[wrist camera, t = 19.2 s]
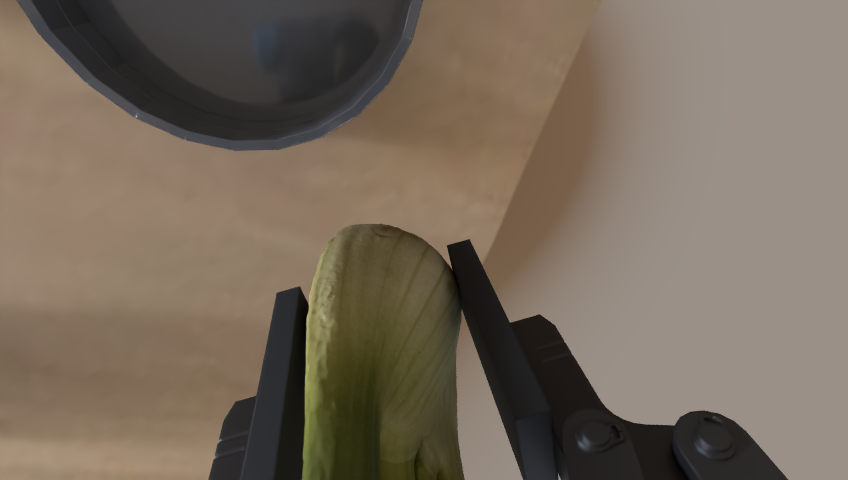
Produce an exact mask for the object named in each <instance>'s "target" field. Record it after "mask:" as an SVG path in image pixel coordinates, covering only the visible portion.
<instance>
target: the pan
mask: <svg viewBox="0 0 848 480" xmlns="http://www.w3.org/2000/svg"><path fill="white" fill-rule="evenodd" d="M17 2H18V3H19V5H20V6H21V8H22V9H23V11H24V12H25V14H26V15H27V17H28V18H29V20H30V21H31V23H32V24H33V26H34V27H35V29H36V30H37V32H38V33H39V35H41V37H42V38H43V39H44V40H45V41H46V42H47V43H48V44H49V45H50V46H51V47H52V48H53V49H54V50H55V51H56V53H57V54H58V55H59V56H60V57H61V58H62V59H63V60H64V61H65V62H66V63H67V64H68V65H69V66H70V67H71V68H72V69H73V70H74V71H75V72H76V73H77V74H78V75H79V76H80V77H81V78H82V79H83V80H84V81H85V82H86V83H87V84H88V85H89V86H91V87H92V88H94V89H95V90H96V91H98V92H99V93H101V94H102V95H104V96H105V97H106V98H108V99H109V100H111V101H112V102H113V103H115V104H116V105H118V106H119V107H121V108H122V109H123V110H125V111H126V112H128V113H129V114H130V115H132V116H133V117H136V118H137V119H139V120H141V121H143V122H145V123H148V124H150V125H152V126H154V127H157V128H159V129H161V130H163V131H166V132H168V133H170V134H172V135H175V136H177V137H179V138H181V139H184V140H185V139H186V140H187V141H191V142H196V143H201V144H205V145H210V146H215V147H220V148H224V149H229V150H234V151H241V150H279V149H283V148H287V147H291V146H294V145H298V144H301V143H305V142H308V141H312V140H315V139H319V138H321V137H324V136H325V135H327V134H329V133H330V132H332V131H333V130H335V129H337V128H338V127H340V126H342V125H343V124H345V123H347V122H348V121H350V120H352V119H353V118H355V117H357V116H358V115H360V114H361V112H362V111H363V110H364V109H365V108H366V107H367V106H368V105H369V104H370V103H371V102H372V101H373V100H374V99H375V98H376V97H377V96H378V95H379V93H380V92H381V91H382V90H383V89H384V88H385V87H386V86H387V85H388V84H389V82H390V81H391V79H392V77H393V75H394V74H395V72H396V70H397V68H398V66H399V64H400V63H401V61H402V59H403V57H404V55H405V53H406V52H407V50H408V48H409V46H410V44H411V42H412V40H413V37H414V33H415V29H416V25H417V21H418V18H419V14H420V10H421V6H422V2H423V0H17Z"/></svg>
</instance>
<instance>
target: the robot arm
mask: <svg viewBox="0 0 848 480" xmlns="http://www.w3.org/2000/svg"><path fill="white" fill-rule="evenodd" d="M447 248H448V252H449V257H450V261H451V265H452V269H453V272H454V275H455V277H456V280H457V284H458V288H459V293H460V298H461V308H462V311H463V313H464V316H465V319H466V322H467V325H468V327H469V330H470V333H471V336H472V338H473V341H474V344H475V347H476V349H477V352H478V355H479V358H480V360H481V363H482V366H483V369H484V372H485V374H486V377H487V380H488V383H489V386H490V388H491V391H492V394H493V397H494V400H495V402H496V405H497V408H498V411H499V414H500V416H501V419H502V422H503V425H504V427H505V430H506V433H507V436H508V438H509V441H510V444H511V447H512V450H513V452H514V455H515V458H516V461H517V463H518V466H519V469H520V472H521V475H522V477H523V480H558V474H559V476H560V478H561V480H788V479H787V478H786V477H785V475H784V474H783V473H782V472H781V471H780V470H779V469H778V467H777V466H776V465H775V464H774V463H773V462H772V461H771V460H770V458H769V457H768V456H767V455H766V454H765V452H763V450H762V449H761V448H760V447H759V446H758V445H757V443H756V442H755V441H754V440H753V439H752V438H751V436H750V435H749V434H748V433H747V432H746V431H745V430H744V429H743V428H741V427H740V426H739V425H738V424H737V423H736V422H734V421H733V420H731V419H729V418H726V417H725V416H723V415H721V414H718V413H713V412H708V411H694V412H689V413H687V414H685V415H683V416H681V417H680V418H679V420H678V421H677V423H676V424H675V426H670V425H645V424H637V423H632V422H629V421H626V420H623V419H622V418H620V417H618V416H616V415H614V414H613V413H612V412H610V411H609V410H608V409H607V408H606V407H605V406H604V404H603V403H602V402H601V401H600V399H599V398H598V396H597V394H596V392H595V391H594V389H593V387H592V386H591V384H590V382H589V381H588V379H587V378H586V376H585V374H584V373H583V371H582V369H581V368H580V366H579V365H578V363H577V361H576V360H575V358H574V356H572V354H571V351H570V350H569V348H568V346H567V345H566V343H565V342H564V340H563V338H562V337H561V335H560V333H559V332H558V330H557V328H556V326H555V325H554V324H552V323H551V322H550V321H548V320H547V319H545V318H544V317H543V316H541V315H536V316H533V317H529V318H526V319H522V320H519V321H515V322H511V323H510V322H509V320H508V318H507V316H506V314H505V312H504V310H503V308H502V306H501V304H500V302H499V300H498V297H497V295H496V293H495V291H494V289H493V287H492V285H491V283H490V281H489V279H488V277H487V275H486V272H485V270H484V268H483V266H482V264H481V262H480V260H479V258H478V256H477V254H476V252H475V250H474V248H473V245H472V243H471V241H470V239H468V240H465V241H461V242H457V243H454V244H450V245H447ZM308 311H309V305H308V302H307V300H306V298H305V296H304V294H303V292H302V290H301V288H300V287H296V288H292V289H289V290H285V291H282V292H278V293H277V295H276V300H275V305H274V310H273V315H272V320H271V325H270V330H269V335H268V340H267V345H266V350H265V355H264V360H263V365H262V370H261V376H260V381H259V386H258V391H257V396H254V397H251V398H247V399H244V400H240V401H237V402H235V404H234V405H233V407H232V408H231V410H230V412H229V413H228V415H227V416H226V418H225V419H224V422H223V426H222V430H221V433H220V437H219V441H220V442H219V443H218V445H217V449H216V453H215V459H214V460H213V464H212V468H211V472H210V476H209V480H302V473H303V464H304V461H303V447H304V427H305V375H306V330H307V326H306V323H307V315H308Z"/></svg>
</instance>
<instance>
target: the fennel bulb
mask: <svg viewBox="0 0 848 480" xmlns="http://www.w3.org/2000/svg"><path fill="white" fill-rule="evenodd" d="M461 310H462V309H461V298H460V293H459V288H458V284H457V280H456V277H455V275H454V272H453V271H452V269H451V267H450V266H449V265H448V264H447V262H446V261H445V260H444V259H443V257H442V256H441V255H440V254H439V253H438V251H437V250H435V249H434V248H433V247H432V246H431V245H429V244H428V243H427V242H426V241H424V240H423V239H422V238H420V237H418V236H416V235H414V234H412V233H409V232H406V231H403V230H401V229H400V228H397V227H393V226H389V225H383V224H360V225H351V226H349V227H346V228H344V229H342V230H341V231H339V232H338V233H337V235H336V236H335V237H334V238H332V239H331V240H330V241H329V242H328V244H327V246H326V247H325V250H324V251H323V253H322V255H321V257H320V258H319V262H318V265H317V270H316V274H315V277H314V279H313V281H312V286H311V292H310V294H309V311H308V315H307V323H306V326H307V330H306V375H305V427H304V447H303V461H304V464H303V473H302V480H465V479H464V474H463V470H462V463H461V458H460V450H459V443H458V431H457V388H456V348H457V341H458V336H459V330H460V324H461Z"/></svg>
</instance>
